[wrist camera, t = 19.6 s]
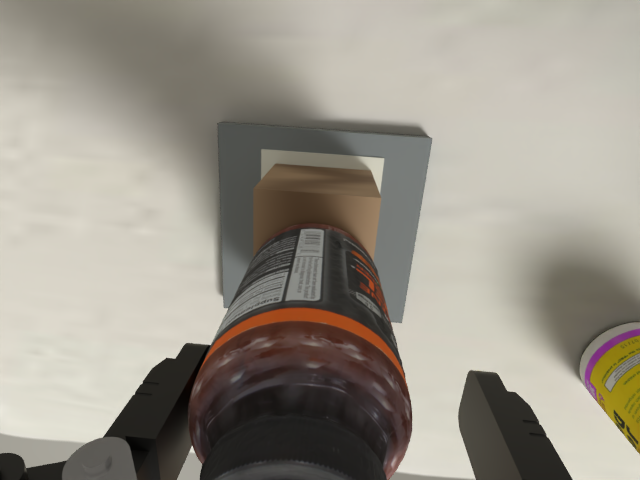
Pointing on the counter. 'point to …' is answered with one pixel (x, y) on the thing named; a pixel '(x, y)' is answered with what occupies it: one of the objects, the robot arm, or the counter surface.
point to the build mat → (335, 152)
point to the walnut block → (316, 202)
